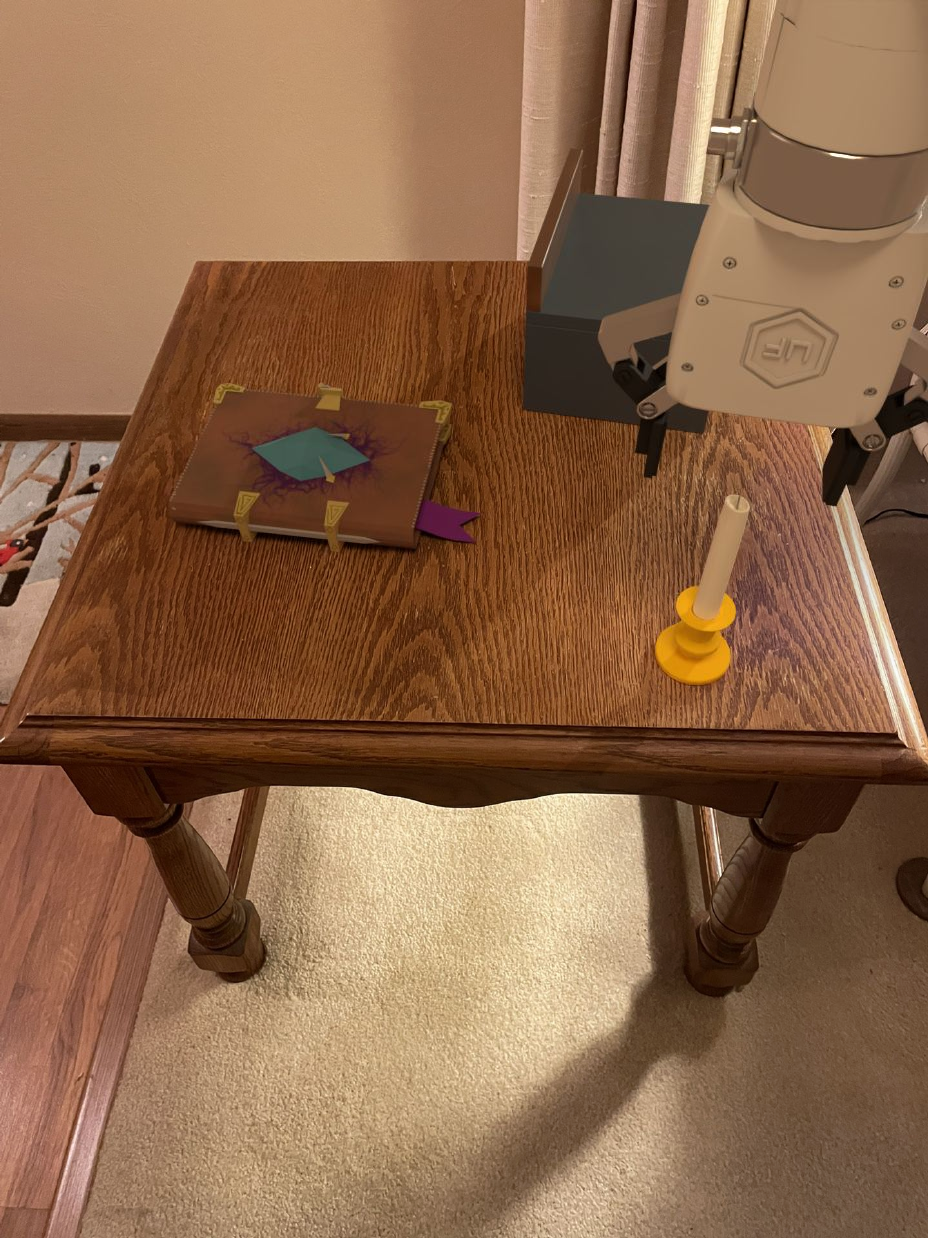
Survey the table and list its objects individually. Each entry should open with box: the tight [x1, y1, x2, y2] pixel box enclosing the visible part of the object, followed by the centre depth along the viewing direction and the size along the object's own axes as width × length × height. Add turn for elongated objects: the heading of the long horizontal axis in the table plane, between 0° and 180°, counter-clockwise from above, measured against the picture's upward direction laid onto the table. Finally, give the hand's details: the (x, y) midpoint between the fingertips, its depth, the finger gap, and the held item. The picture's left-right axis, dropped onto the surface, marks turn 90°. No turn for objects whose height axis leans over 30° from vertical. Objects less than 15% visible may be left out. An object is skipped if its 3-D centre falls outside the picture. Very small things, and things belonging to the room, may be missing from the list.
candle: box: [654, 494, 751, 686], centre depth 56 cm, size 5×5×16 cm
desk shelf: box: [522, 148, 710, 434], centre depth 79 cm, size 16×20×14 cm
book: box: [168, 381, 483, 553], centre depth 73 cm, size 16×25×5 cm, turn 80°
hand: (738, 474), depth 49 cm, fingers open, 9 cm apart
